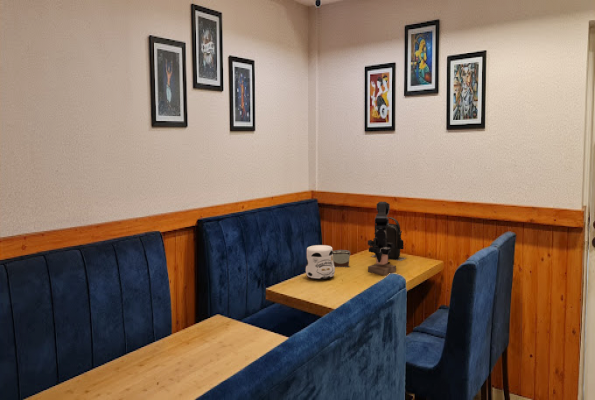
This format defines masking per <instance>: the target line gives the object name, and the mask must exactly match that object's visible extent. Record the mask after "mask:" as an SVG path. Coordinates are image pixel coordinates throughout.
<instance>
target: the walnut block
mask: <svg viewBox="0 0 595 400" xmlns="http://www.w3.org/2000/svg"><path fill="white" fill-rule="evenodd" d="M396 272H397V266H396V265H394V264H391V263H389V264H383V265H382V264H378V263H374V264H371V265H368V266H367V273H371V274H374V275H378V276H379V275H380V276H387V275H390V274H393V273H396ZM389 273H390V274H389Z"/></svg>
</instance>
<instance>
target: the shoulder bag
mask: <svg viewBox="0 0 595 400" xmlns="http://www.w3.org/2000/svg"><path fill="white" fill-rule="evenodd" d="M387 218H388V219H390V220H393V221H394V222H395V223H390V222H389V226H388V228H386V238H388V240H387V241H388V242H389V243H394V245H395V248H391V247H390V248H391V255H388V260H391V261H397V262H402V261H404V260H406V259H407V257H403V256H401V250H404V248H405V246H404V239H402V233H403V230H401V225H400V223H399V221H398V220H397V219H396V218H394V217H390V216H387ZM386 226H387V225H386ZM376 232H377V228H375V227H374V233H373V235H374V238H373V240H372V241H374V240H375V238H377V237H376ZM375 247H377V246H375ZM371 257H374V258H376V255H375V254H373V255H372V256H371Z"/></svg>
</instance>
